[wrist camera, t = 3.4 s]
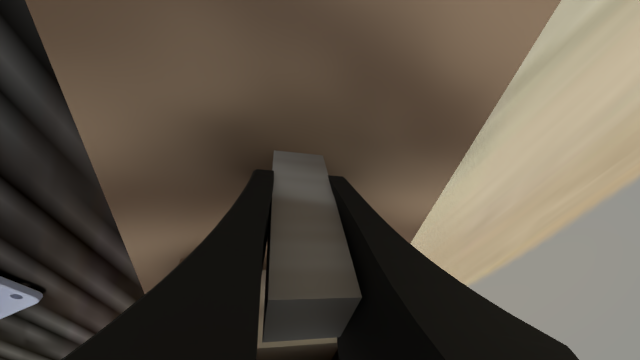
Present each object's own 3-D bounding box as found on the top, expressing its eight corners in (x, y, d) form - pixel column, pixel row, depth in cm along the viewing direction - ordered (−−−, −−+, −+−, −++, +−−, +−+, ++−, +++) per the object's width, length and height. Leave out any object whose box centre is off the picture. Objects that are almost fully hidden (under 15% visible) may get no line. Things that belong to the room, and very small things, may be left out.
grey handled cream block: (311, 316, 18) (322, 427, 14) (228, 319, 17) (208, 444, 12) (367, 160, 10) (441, 294, 6) (220, 144, 9) (154, 303, 4)
